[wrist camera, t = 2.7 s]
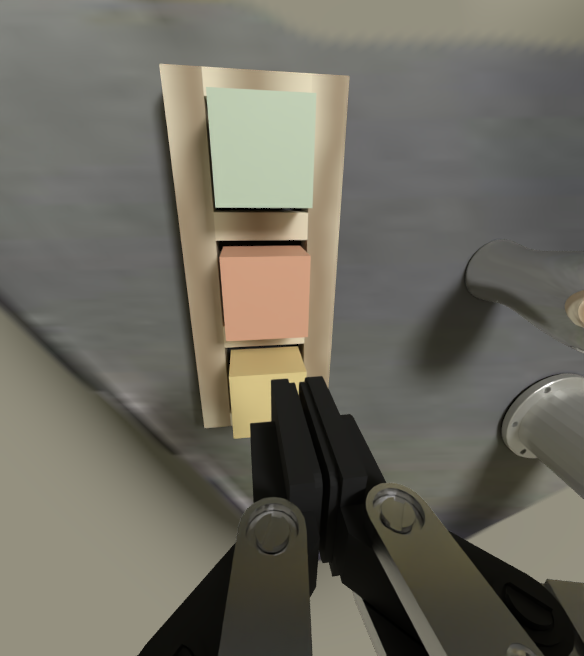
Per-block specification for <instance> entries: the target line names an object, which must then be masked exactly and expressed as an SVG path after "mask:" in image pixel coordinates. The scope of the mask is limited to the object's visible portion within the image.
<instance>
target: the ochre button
mask: <svg viewBox="0 0 584 656" xmlns="http://www.w3.org/2000/svg"><path fill="white" fill-rule="evenodd" d="M305 377H307V371H306V368H305V365H304V363H303V360H302V357H301V354H300V351H299V348H298V346H294V347H276V348H257V349H239V350H231V356H230V369H229V385H230V397H231V410H232V423H233V435H234V439H237V438H248V437H251V436H250V423H259V422H270V421H271V380H273V379H287V378H288V380H289V383H293V382H295V384H296V388H297V391H298V395H299V382H304V381H305Z"/></svg>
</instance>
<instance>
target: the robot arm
mask: <svg viewBox="0 0 584 656" xmlns="http://www.w3.org/2000/svg"><path fill="white" fill-rule="evenodd" d="M250 436H251V457H252V478H253V499H254V503H253V504H252V505H251V506H250V507H249V508H247V510H246V511H245V512H244V514H243V515H242V517H241V520H240V523H239V526H238V531H237V537H236V543H235V544H234V545H233V546H232V547H231V548H230V550H229V551H228V552H227V553H226V554H225V555H224V556H223V558H222V559H221V560H220V561H219V562H218V563H217V564H216V565H215V567H214V568H213V569H212V570H211V571H210V572H209V573H208V575H207V576H206V577H205V578H204V579H203V580H202V581H201V582H200V584H199V585H198V586H197V587H196V588H195V589H194V591H193V592H192V593H191V594H190V595H189V596H188V597H187V599H185V601H184V602H183V603H182V604H181V605H180V606H179V607H178V609H177V610H176V611H175V612H174V613H173V614H172V615H171V617H170V618H169V619H168V620H167V621H166V622H165V623H164V625H163V626H162V627H161V628H160V629H159V630H158V631H157V632H156V634H155V635H154V636H153V637H152V638H151V639H150V640H149V641H148V643H147V644H146V645H145V646H144V648H143V649H142V651H141V652H140V654H139V655H137V656H312V638H311V616H310V597H311V595H312V593H313V591H314V590H315V588H316V579H317V567H318V554H319V552H320V557H321V560H322V563H327V562H329V565H330V569H331V572H332V576H338V575H340V577H341V581H342V583H343V584H344V585H346V586H347V587H348V588H350V589H351V590H352V591H353V595H354V599H355V603H356V605H357V607H358V610H359V612H360V615H361V617H362V620H363V622H364V624H365V627H366V629H367V632H368V634H369V637H370V639H371V641H372V644H373V646H374V649H375V651H376V653H377V656H584V583H581V582H571V581H562V580H552V579H547V580H546V582H545V583H544V584H543V583H539V582H538V581H536V580H535V579H533V578H532V577H530V576H529V575H527V574H526V573H523V572H522V571H520V570H518V569H516V568H515V567H513V566H511V565H509V564H507V563H506V562H504V561H502V560H500V559H498V558H497V557H495V556H493V555H491V554H489V553H487V552H486V551H484V550H482V549H480V548H479V547H477V546H474V545H473V544H471V543H469V542H468V541H466V540H464V539H462V538H460V537H459V536H457V535H455V534H453V533H451V532H450V531H448V530H447V529H446V528H445V526H444V525H443V524H442V523H441V521H440V520H439V519H438V517H437V516H436V515H435V513H434V512H433V511H432V510H431V508H430V507H429V506H428V504H427V503H426V502H425V501H424V500H423V499H422V498H421V496H420V495H419V494H418V493H416V492H415V491H413V490H412V489H410V488H408V487H406V486H403V485H401V484H397V483H390V482H389V483H386V481H385V479H384V477H383V475H382V473H381V471H380V469H379V467H378V465H377V463H376V461H375V459H374V457H373V455H372V453H371V451H370V449H369V447H368V445H367V443H366V441H365V439H364V437H363V435H362V434H361V432H360V430H359V428H358V426H357V424H356V422H355V420H354V418H353V416H352V415H350V414H347V415H340V414H339V411H338V409H337V407H336V405H335V402H334V400H333V398H332V396H331V394H330V391H329V389H328V387H327V385H326V382H325V380H324V378H323V376H315V377H305V381H304V382H299V395H298V391H297V388H296V384H295V382H293V383H289V380H288V378H287V379H273V380H271V421H270V422H259V423H250ZM502 438H503V441H504V443H505V444H506V445H507V447H508V448H509V449H510V450H512V451H513V452H514V453H515V454H517V455H518V456H521V457H525V458H538V459H540V460H541V461H542V462H543V463H544V464H545V465H546V466H547V467H548V468H549V469H551V470H552V471H553V472H554V473H555V474H556V475H557V476H558V477H559V478H561V479H562V480H563V481H564V482H565V483H566V484H567V485H568V486H569V487H571V488H572V489H573V490H574V491H575V492H576V493H577V494H578V495H579V496H580V497H582V498H583V499H584V377H583V376H580V375H578V374H570V373H568V374H559V375H555V376H551V377H549V378H546V379H544V380H541V381H539V382H538V383H536V384H534V385H532V386H531V387H530V388H528V389H527V390H526V391H524V392H523V393H522V394H521V395H520V396H519V397H518V398H517V399H516V400H515V401H514V403H513V404H512V405H511V407H510V408H509V410H508V412H507V413H506V415H505V418H504V420H503V425H502Z"/></svg>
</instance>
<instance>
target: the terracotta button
mask: <svg viewBox="0 0 584 656" xmlns="http://www.w3.org/2000/svg"><path fill="white" fill-rule="evenodd" d="M219 258H220V271H221V284H222V296H223V309H224V322H225V334H226V341H242V340H262V339H282V338H301V337H308V323H309V294H310V265H311V256H310V255H309V254H308V253H307V252H306V251H305V250H304V249H303V248H302V247H301V246H223V249H222V252H221V254H220V257H219Z"/></svg>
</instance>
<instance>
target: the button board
mask: <svg viewBox="0 0 584 656" xmlns="http://www.w3.org/2000/svg"><path fill="white" fill-rule="evenodd" d="M159 66H160V74H161V82H162V90H163V98H164V106H165V114H166V122H167V130H168V138H169V146H170V154H171V162H172V170H173V179H174V187H175V195H176V203H177V211H178V219H179V227H180V235H181V243H182V251H183V259H184V267H185V275H186V283H187V291H188V299H189V307H190V315H191V323H192V331H193V340H194V348H195V356H196V364H197V372H198V380H199V388H200V396H201V404H202V412H203V420H204V428H213V427H225V426H233V423H232V410H231V397H230V385H229V363H228V350H227V348H229V347H248V346H266V345H285V344H299V351H300V354H301V357H302V360H303V363H304V365H305V368H306V371H307V377H315V376H323V378H324V380H325V382H326V385H327V387H328V386H329V371H330V357H331V342H332V327H333V312H334V297H335V282H336V268H337V253H338V238H339V223H340V208H341V193H342V179H343V164H344V149H345V134H346V119H347V104H348V90H349V76H341V75H326V74H310V73H294V72H279V71H263V70H247V69H231V68H216V67H200V66H184V65H169V64H159ZM206 87H216V88H234V89H253V90H271V91H289V92H307V93H316V120H315V149H314V178H313V207H312V208H302V210H301V211H283V210H217V209H216V208H215V195H214V183H213V170H212V157H211V145H210V132H209V120H208V107H207V94H206ZM239 240H301V247H302V248H303V249H304V250H305V251H306V252H307V253H308V254H309V255H310V256H311V265H310V294H309V323H308V337H301V338H282V339H262V340H242V341H226V334H225V322H224V309H223V296H222V284H221V271H220V258H219V257H220V247H219V241H239Z"/></svg>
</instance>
